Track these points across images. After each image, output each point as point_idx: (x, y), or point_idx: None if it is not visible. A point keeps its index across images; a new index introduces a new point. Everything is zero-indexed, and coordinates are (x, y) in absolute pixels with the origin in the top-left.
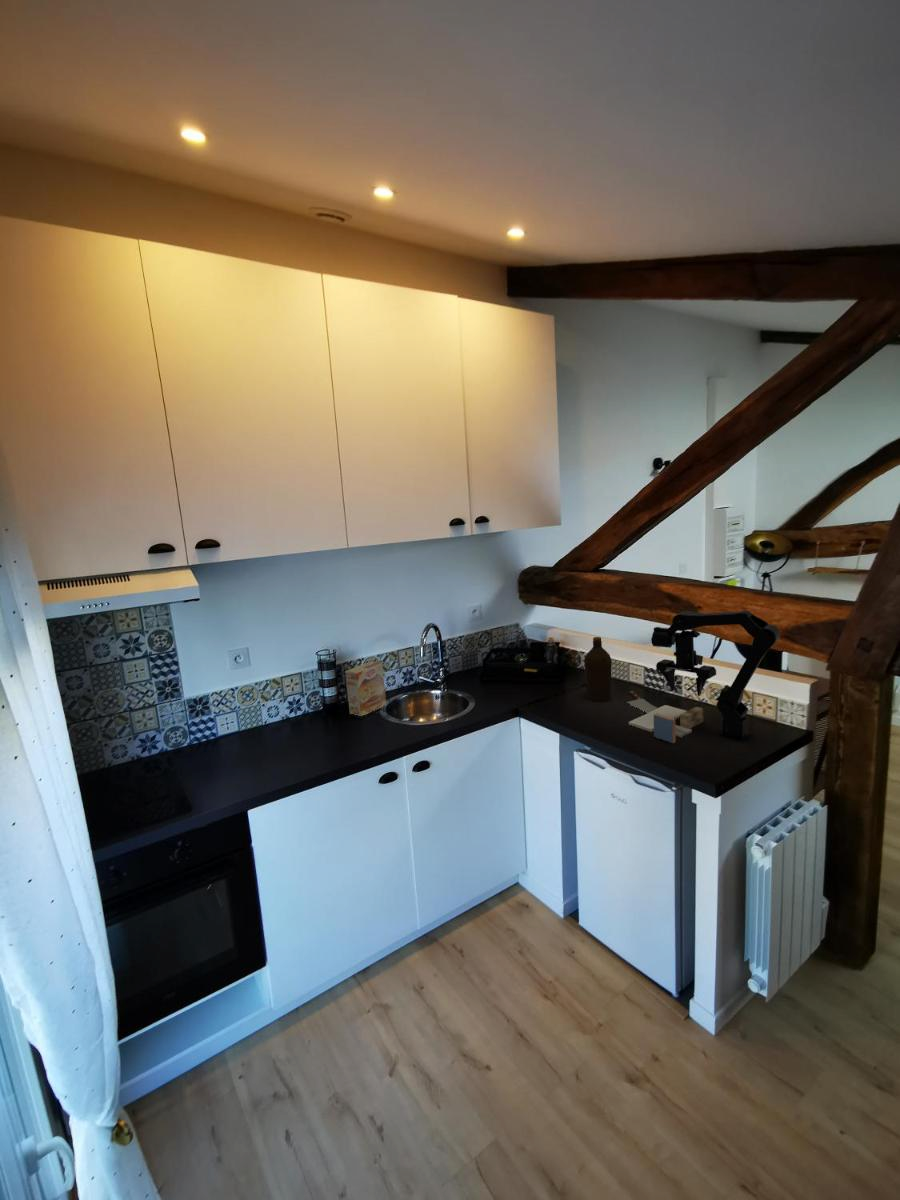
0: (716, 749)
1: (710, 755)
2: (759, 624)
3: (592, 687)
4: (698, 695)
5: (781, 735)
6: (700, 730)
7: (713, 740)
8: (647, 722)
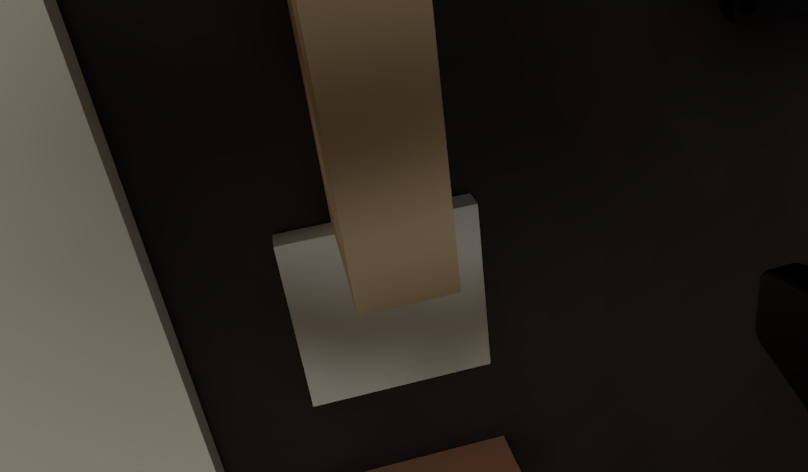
0: None
1: None
2: None
3: None
4: (774, 337)
5: None
6: (507, 88)
7: (715, 177)
8: (57, 451)
